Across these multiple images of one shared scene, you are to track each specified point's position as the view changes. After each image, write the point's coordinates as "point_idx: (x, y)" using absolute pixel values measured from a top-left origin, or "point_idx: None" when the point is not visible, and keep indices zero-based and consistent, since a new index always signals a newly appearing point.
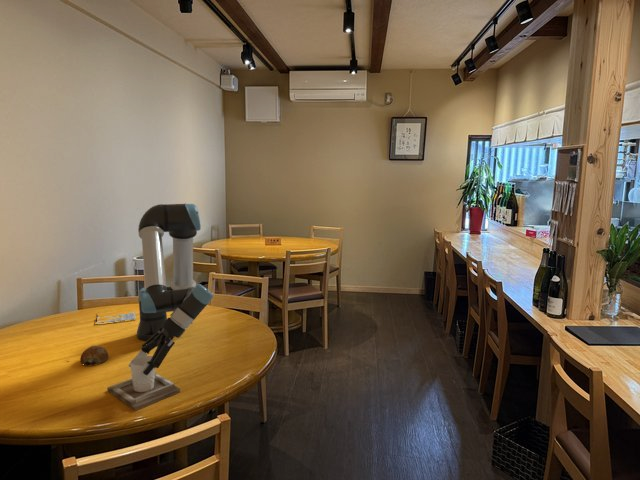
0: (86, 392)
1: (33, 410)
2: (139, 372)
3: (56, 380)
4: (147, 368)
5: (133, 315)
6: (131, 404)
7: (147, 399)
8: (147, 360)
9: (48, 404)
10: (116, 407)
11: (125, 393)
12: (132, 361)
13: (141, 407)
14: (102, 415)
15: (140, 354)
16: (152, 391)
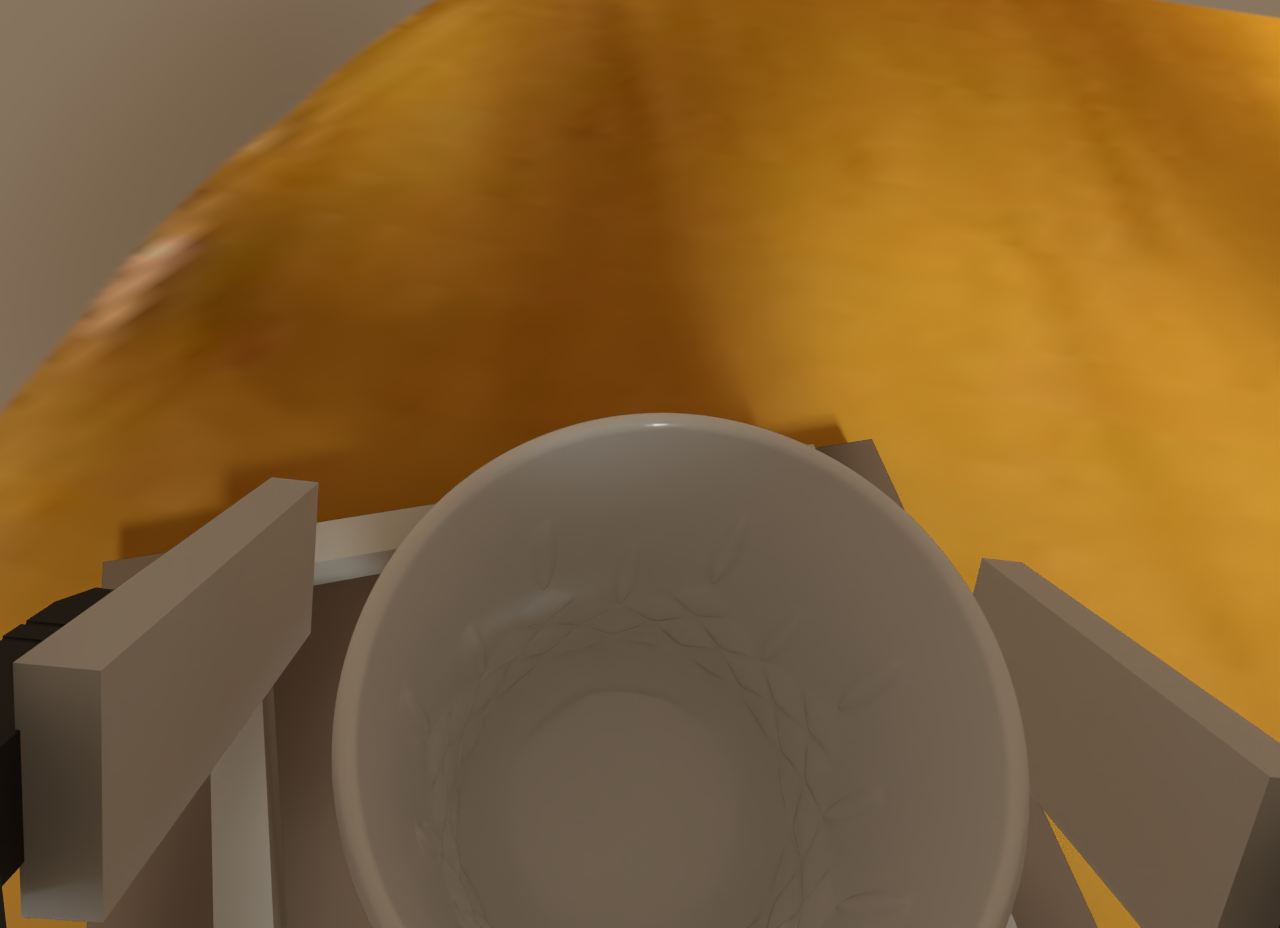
0: (912, 313)
1: (778, 33)
2: (241, 531)
3: (1247, 205)
4: (1, 657)
5: None
6: None
7: None
8: (906, 922)
9: (823, 98)
10: (393, 441)
11: None
12: (837, 505)
13: None
14: (326, 309)
15: (1176, 764)
16: (254, 877)
